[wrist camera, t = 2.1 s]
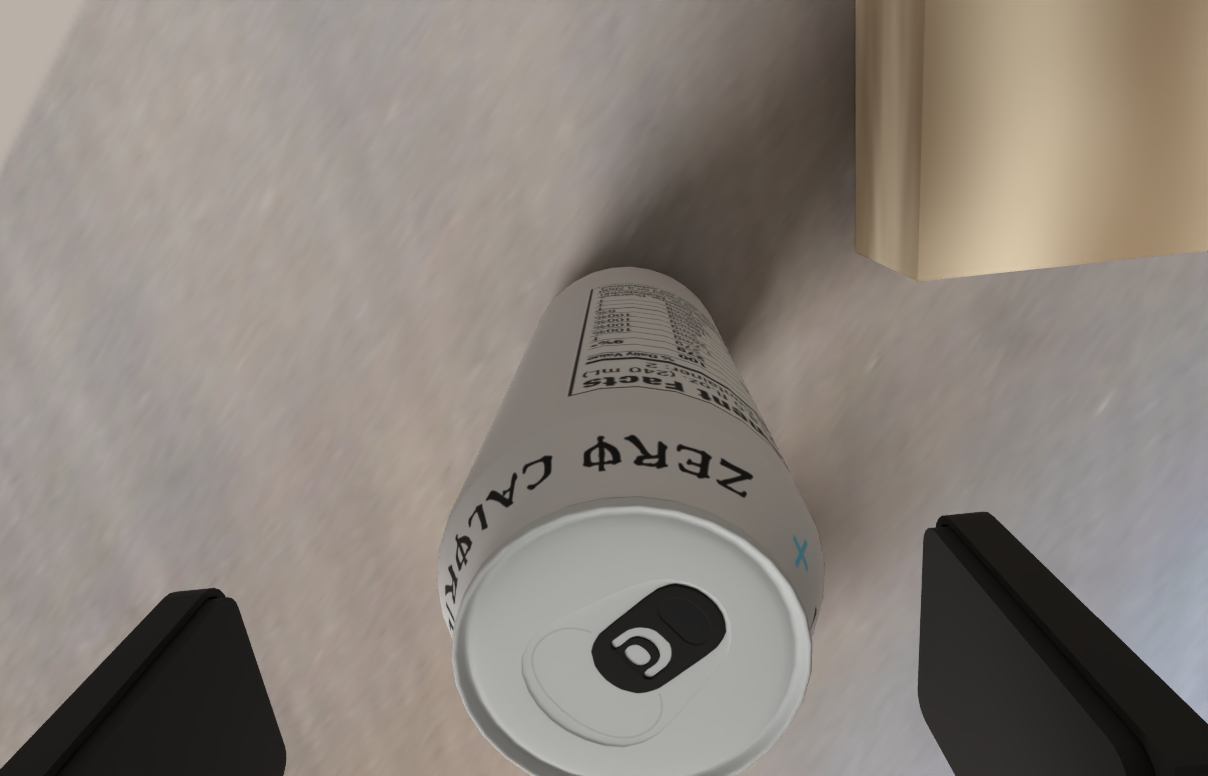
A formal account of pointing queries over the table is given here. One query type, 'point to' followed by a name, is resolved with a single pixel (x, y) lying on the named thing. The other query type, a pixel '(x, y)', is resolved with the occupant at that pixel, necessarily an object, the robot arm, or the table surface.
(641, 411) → the energy drink can
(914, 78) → the riser block
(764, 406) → the table surface
